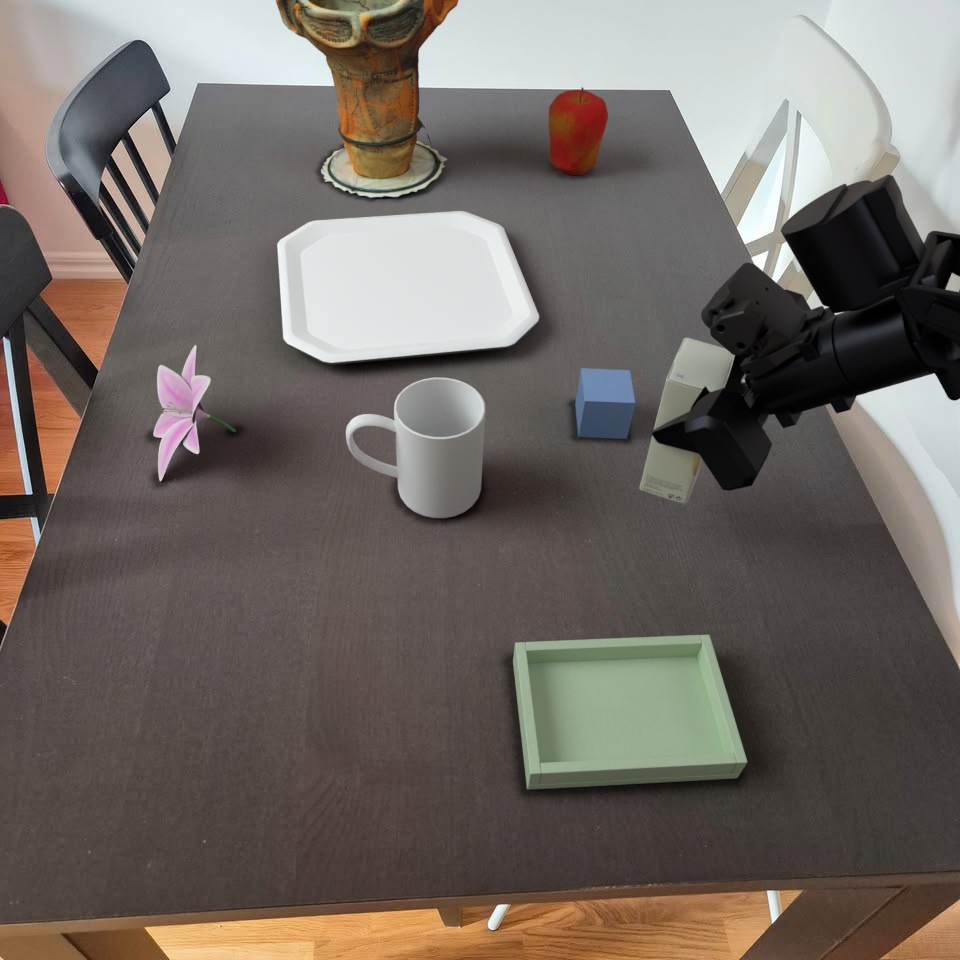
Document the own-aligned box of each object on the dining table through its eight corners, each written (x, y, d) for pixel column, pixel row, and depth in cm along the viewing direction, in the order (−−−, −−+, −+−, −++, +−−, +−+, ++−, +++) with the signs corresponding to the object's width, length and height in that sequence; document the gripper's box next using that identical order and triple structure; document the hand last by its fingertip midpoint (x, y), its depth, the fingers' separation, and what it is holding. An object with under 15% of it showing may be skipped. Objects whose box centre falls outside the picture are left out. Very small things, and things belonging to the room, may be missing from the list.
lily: (181, 398, 88) (115, 352, 80) (276, 373, 84) (217, 322, 76) (168, 502, 83) (95, 464, 75) (268, 480, 79) (204, 438, 71)
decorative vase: (300, 136, 127) (273, -78, 107) (450, 135, 130) (452, -75, 109) (293, 206, 113) (261, -25, 93) (461, 203, 116) (467, -23, 95)
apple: (535, 157, 126) (543, 76, 117) (587, 152, 127) (599, 72, 119) (554, 185, 120) (563, 102, 112) (608, 179, 122) (621, 98, 113)
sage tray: (701, 652, 68) (709, 634, 66) (737, 778, 61) (748, 762, 59) (512, 660, 67) (515, 641, 65) (527, 790, 60) (530, 774, 58)
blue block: (622, 406, 88) (630, 369, 85) (626, 439, 85) (635, 402, 81) (575, 404, 88) (581, 367, 85) (578, 437, 85) (584, 400, 81)
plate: (287, 381, 89) (284, 365, 87) (277, 236, 108) (275, 221, 106) (548, 356, 94) (550, 340, 92) (495, 222, 113) (496, 207, 111)
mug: (474, 455, 83) (478, 373, 75) (486, 515, 77) (492, 434, 70) (350, 465, 81) (341, 383, 73) (355, 528, 76) (345, 446, 68)
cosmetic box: (686, 507, 70) (721, 398, 61) (636, 491, 71) (663, 381, 62) (704, 458, 74) (738, 348, 65) (656, 443, 75) (684, 334, 66)
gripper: (836, 194, 60) (664, 278, 72) (750, 325, 49) (564, 398, 61) (904, 321, 63) (729, 381, 75) (838, 471, 52) (645, 513, 64)
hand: (671, 413), depth 68 cm, fingers closed on cosmetic box, 6 cm apart
